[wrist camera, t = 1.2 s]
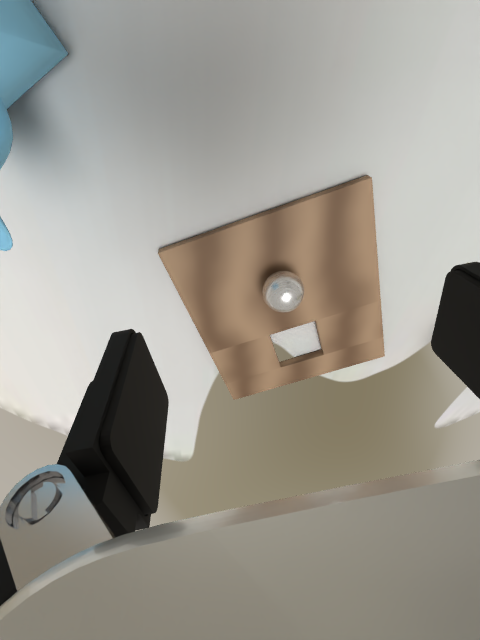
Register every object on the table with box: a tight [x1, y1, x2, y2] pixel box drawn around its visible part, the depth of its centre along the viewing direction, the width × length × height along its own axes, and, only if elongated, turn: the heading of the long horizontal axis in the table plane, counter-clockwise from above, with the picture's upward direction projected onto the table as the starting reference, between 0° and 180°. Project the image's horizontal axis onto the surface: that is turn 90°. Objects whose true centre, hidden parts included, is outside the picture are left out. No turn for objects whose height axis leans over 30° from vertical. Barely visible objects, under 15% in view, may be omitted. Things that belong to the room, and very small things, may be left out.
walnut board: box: [158, 175, 385, 400], centre depth 35 cm, size 20×22×1 cm
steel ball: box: [263, 271, 304, 312], centre depth 31 cm, size 4×4×4 cm
